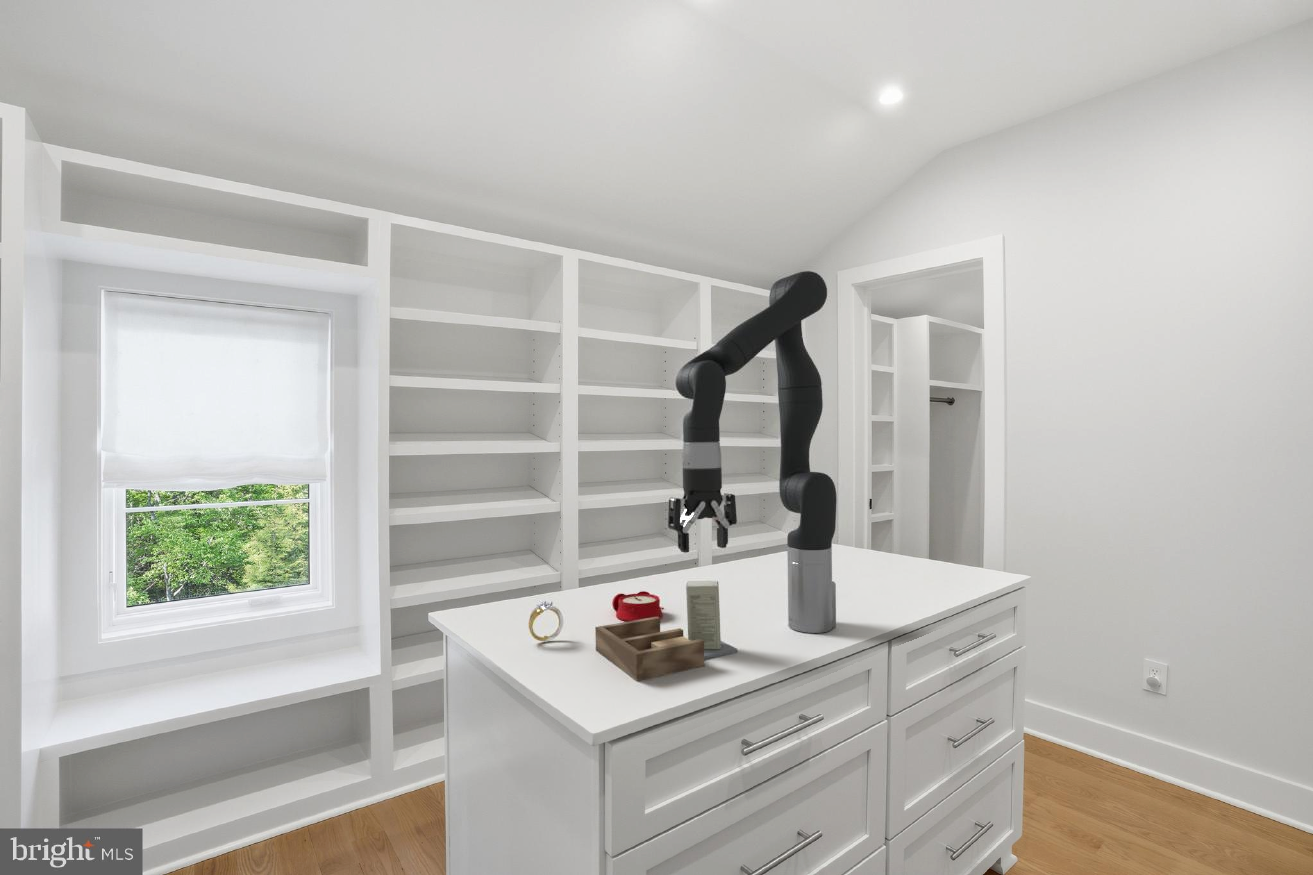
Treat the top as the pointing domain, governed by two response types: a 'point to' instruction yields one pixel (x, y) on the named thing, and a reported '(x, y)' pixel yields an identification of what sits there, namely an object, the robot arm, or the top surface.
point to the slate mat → (719, 651)
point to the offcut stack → (669, 642)
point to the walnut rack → (647, 649)
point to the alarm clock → (637, 606)
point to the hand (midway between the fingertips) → (703, 549)
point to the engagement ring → (537, 612)
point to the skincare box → (704, 612)
